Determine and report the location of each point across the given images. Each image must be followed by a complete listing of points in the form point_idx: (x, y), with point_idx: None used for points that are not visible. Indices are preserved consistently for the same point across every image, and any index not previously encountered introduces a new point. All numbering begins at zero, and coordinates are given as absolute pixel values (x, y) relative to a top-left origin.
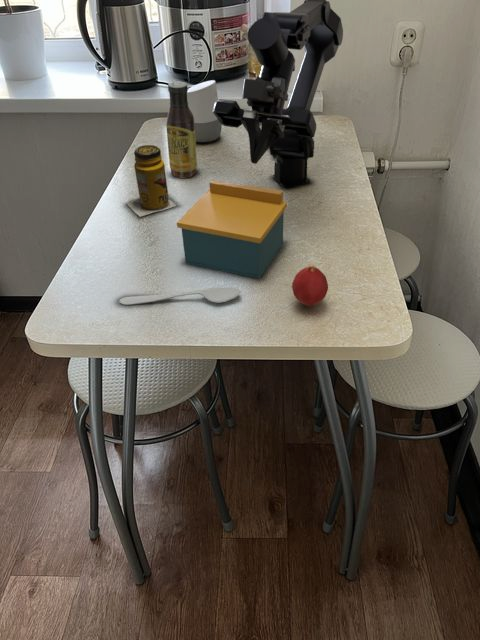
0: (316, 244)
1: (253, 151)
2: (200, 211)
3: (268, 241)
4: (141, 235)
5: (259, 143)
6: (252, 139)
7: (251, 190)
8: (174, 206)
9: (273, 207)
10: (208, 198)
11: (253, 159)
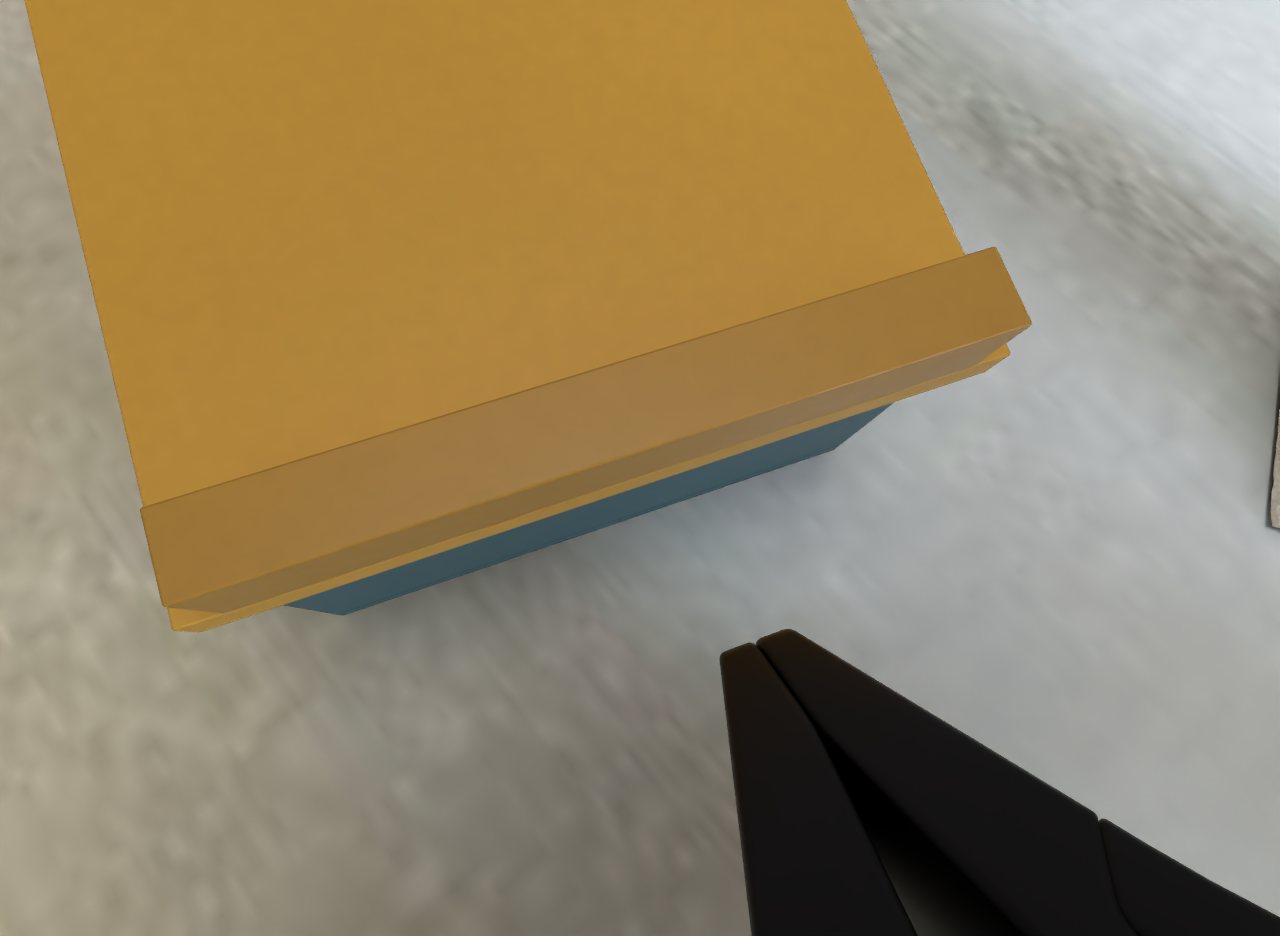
0: (122, 770)
1: (854, 735)
2: (742, 7)
3: None
4: (1105, 152)
5: (851, 926)
6: (1098, 902)
7: (515, 394)
8: (1271, 511)
9: (231, 439)
10: (869, 208)
11: (758, 655)
